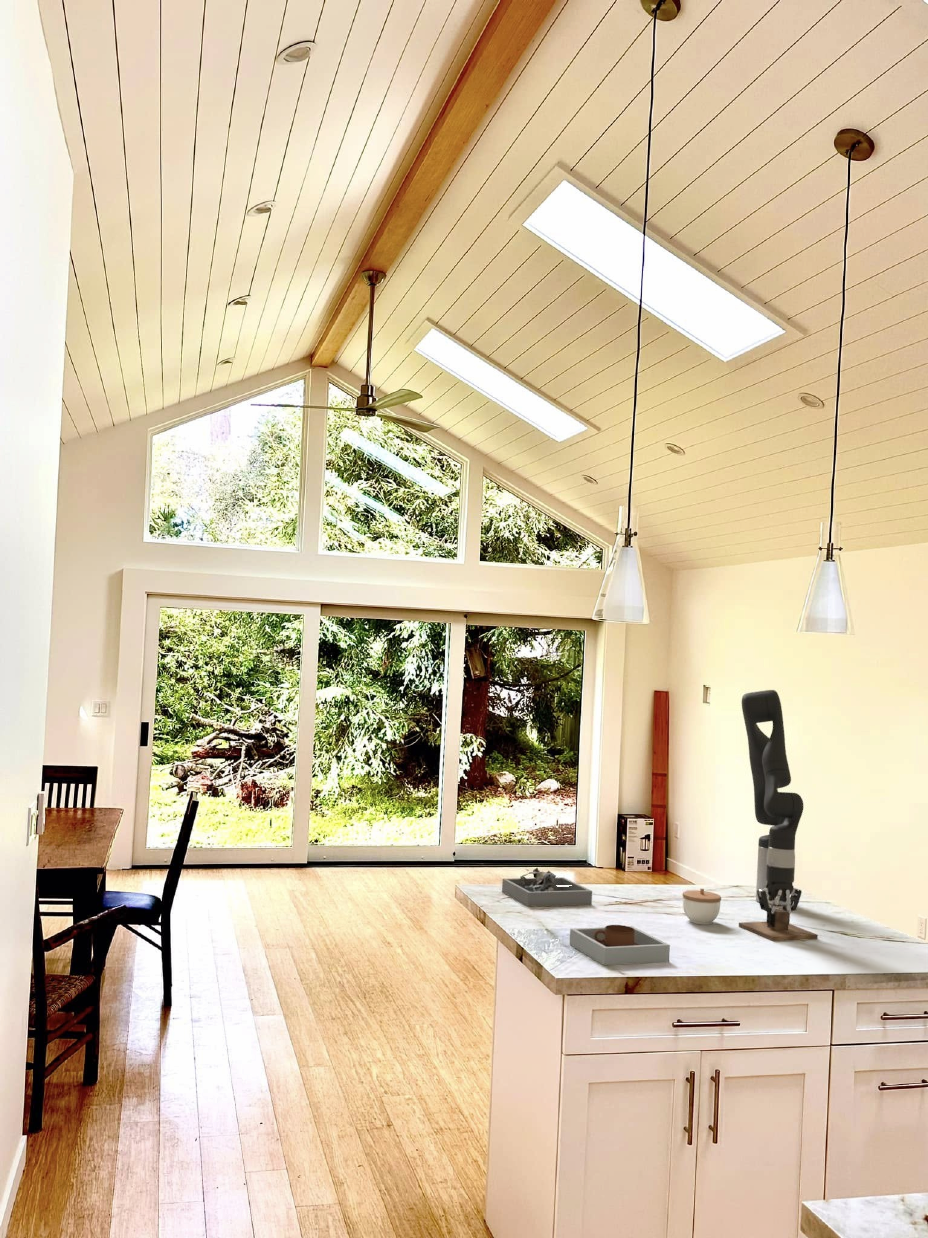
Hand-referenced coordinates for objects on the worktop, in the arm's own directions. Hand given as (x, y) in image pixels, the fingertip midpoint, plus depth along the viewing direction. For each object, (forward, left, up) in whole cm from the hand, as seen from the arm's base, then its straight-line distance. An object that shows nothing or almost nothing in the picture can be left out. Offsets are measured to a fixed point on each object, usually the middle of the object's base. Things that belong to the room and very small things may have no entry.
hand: (777, 926), depth 290 cm
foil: (+51, -49, -2) cm, 70 cm away
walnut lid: (0, 0, -2) cm, 2 cm away
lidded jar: (+16, -14, -2) cm, 21 cm away
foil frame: (+49, -47, -2) cm, 68 cm away
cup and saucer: (+56, +11, -2) cm, 58 cm away
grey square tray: (+57, +11, -2) cm, 58 cm away
